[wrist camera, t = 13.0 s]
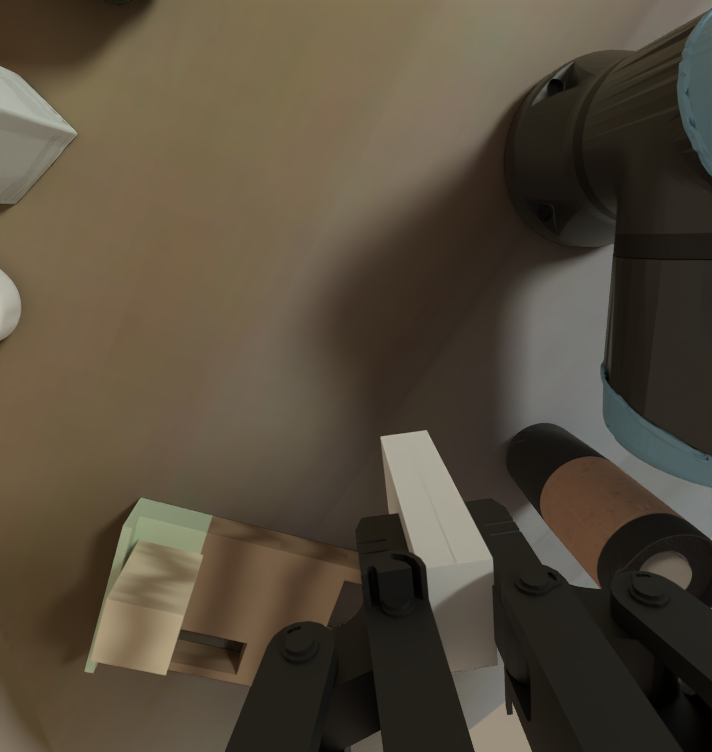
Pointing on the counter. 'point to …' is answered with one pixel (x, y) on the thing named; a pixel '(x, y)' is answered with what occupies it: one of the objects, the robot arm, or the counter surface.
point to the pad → (154, 539)
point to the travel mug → (606, 513)
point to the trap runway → (257, 595)
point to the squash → (118, 1)
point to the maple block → (147, 608)
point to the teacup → (8, 306)
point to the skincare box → (26, 136)
